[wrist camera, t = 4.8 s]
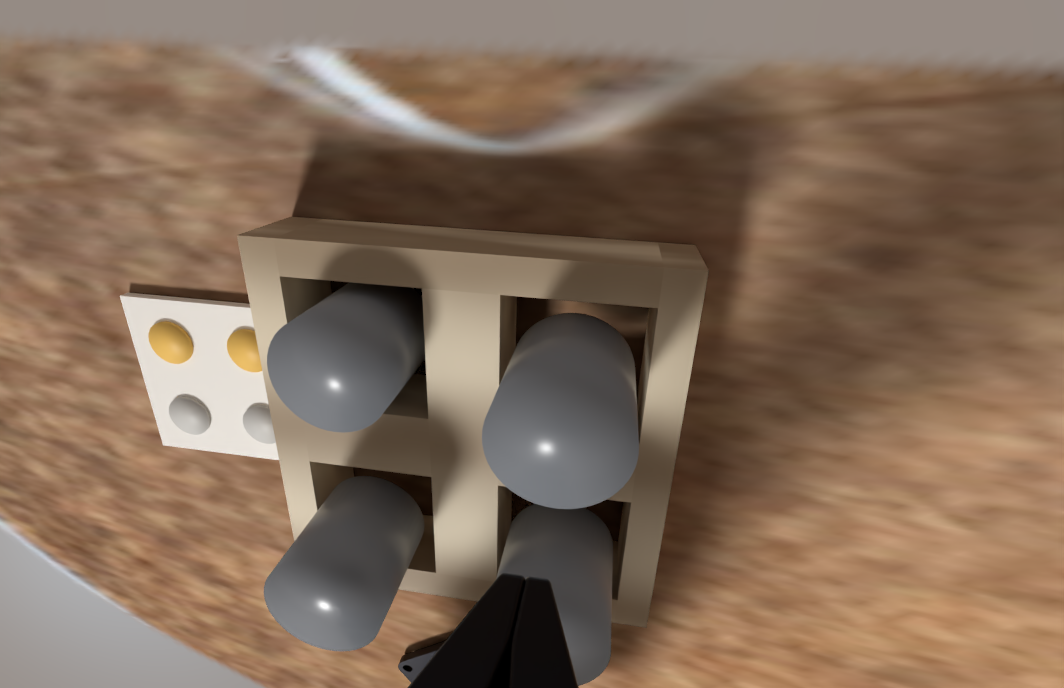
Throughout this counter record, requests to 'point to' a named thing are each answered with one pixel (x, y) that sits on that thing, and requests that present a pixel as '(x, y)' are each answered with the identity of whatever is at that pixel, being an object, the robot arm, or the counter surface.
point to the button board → (477, 377)
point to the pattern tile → (202, 373)
